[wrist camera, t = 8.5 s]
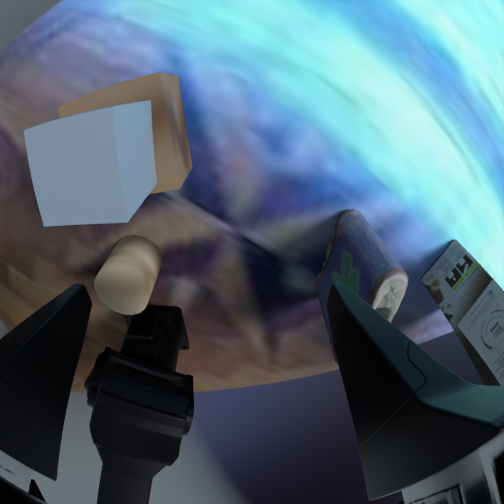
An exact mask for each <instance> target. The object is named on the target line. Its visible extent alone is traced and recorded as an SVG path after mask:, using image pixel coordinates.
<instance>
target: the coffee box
mask: <svg viewBox="0 0 504 504" xmlns="http://www.w3.org/2000/svg"><path fill="white" fill-rule="evenodd" d="M421 281H422V282H423V284H424V285H425V287H426V288H427V290H428V291H429V292H430V294H431V295H432V297H433V298H434V300H435V301H436V303H437V304H438V306H439V307H440V309H441V311H442V312H443V314H444V315H445V317H446V318H447V320H448V321H449V323H450V325H451V326H452V328H453V329H454V331H455V333H456V334H457V336H458V338H459V340H460V341H461V343H462V345H463V346H464V348H465V350H466V352H467V353H468V356H469V357H470V359H471V361H472V363H473V365H474V367H475V369H476V370H477V372H478V374H479V376H480V378H481V380H482V382H483V384H484V385H486V386H504V291H503V290H502V289H501V288H500V286H499V285H498V284H497V283H496V282H495V280H494V279H493V278H492V277H491V276H490V275H489V274H488V273H487V271H486V270H485V269H484V268H483V267H482V266H481V265H480V264H479V263H478V262H477V261H476V260H475V259H474V257H473V256H472V255H471V254H470V253H469V252H468V251H467V250H466V249H465V248H464V247H463V246H462V245H461V244H460V243H459V242H458V241H457V240H456V239H455V240H453V242H452V243H451V244H450V245H449V247H448V248H447V249H446V250H445V252H444V253H443V254H442V255H441V256H440V258H439V259H438V260H437V261H436V262H435V263H434V265H433V266H432V267H431V268H430V269H429V270H428V272H427V273H426V274H425V275H424V276H423V277H422V279H421Z"/></svg>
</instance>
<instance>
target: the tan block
mask: <svg viewBox="0 0 504 504" xmlns="http://www.w3.org/2000/svg"><path fill="white" fill-rule="evenodd" d="M147 100H151V113H152V131H153V146H154V158H155V169H156V179H157V185H156V186H155V187H154V188H153V190H152V191H151V192H150V193H149V194H152V193H158V192H165V191H171V190H177V189H180V188H181V186H182V184H183V182H184V181H185V179H186V177H187V176H188V174H189V172H190V171H191V169H192V161H191V155H190V149H189V143H188V137H187V130H186V124H185V117H184V110H183V103H182V96H181V89H180V82H179V76H177V75H172V74H167V73H161V72H159V73H155V74H151V75H147V76H143V77H140V78H136V79H133V80H129V81H126V82H123V83H119V84H116V85H113V86H110V87H107V88H104V89H102V90H99V91H96V92H93V93H91V94H88V95H86V96H83V97H80V98H78V99H76V100H73V101H71V102H68V103H66V104H64V105H62V106H59V107H58V112H59V118H63V117H66V116H70V115H74V114H77V113H82V112H86V111H90V110H95V109H100V108H105V107H110V106H115V105H121V104H127V103H133V102H140V101H147Z"/></svg>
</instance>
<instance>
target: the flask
mask: <svg viewBox="0 0 504 504" xmlns="http://www.w3.org/2000/svg"><path fill="white" fill-rule="evenodd" d="M334 229H335V233H334V236H333V239H332V241H331V242H330V243H329V246H328V247H327V251H326V253H327V254H326V255H327V260H326V262H325V263H322V264H323V269H322V271H321V272H320V273H319V275H318V278H317V279H316V282H315V283H314V287H315V290H316V292H317V295H318V298H319V301H320V305H321V309H322V313H323V317H324V320H325V324H326V327H327V331H328V334H329V339H330V343H331V346H332V351H333V356H334V358H335V362H336V363H337V364H338V361H337V358H336V354H335V350H334V346H333V342H332V336H331V329H330V323H329V317H328V311H327V300H328V296H329V291H330V287H331V285H332V284H344V285H345V286H347V287H348V288H349V289H350V290H352V291H353V292H354V293H355V294H356V295H358V296H359V297H360V298H361V299H363V300H364V301H365V302H366V303H368V304H369V305H370V306H371V307H372V308H374V309H375V310H376V311H377V312H378V313H380V314H381V315H382V316H383V317H384V318H386V319H387V320H388V321H389V322H390V323H391V321H392V319H393V317H394V315H395V314H396V312H397V310H398V308H399V305H400V303H401V301H402V299H403V297H404V294H405V291H406V288H407V286H408V276H407V274H406V273H405V272H404V270H403V268H402V267H401V266H400V265H399V263H398V262H397V261H396V259H395V258H394V257H393V255H392V254H391V252H390V251H389V250H388V248H387V247H386V245H385V244H384V243H383V241H382V240H381V238H380V237H378V235H377V234H376V233H375V231H374V230H373V229H372V227H371V226H370V225H369V223H368V222H367V221H366V219H365V218H364V216H363V215H362V214H361V213H360V212H358V211H356V210H345V211H344V213H343V214H342V215H341V216H340V218H339V219H338V221H337V223H336V224H335V227H334Z"/></svg>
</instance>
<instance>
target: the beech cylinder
mask: <svg viewBox="0 0 504 504" xmlns="http://www.w3.org/2000/svg"><path fill="white" fill-rule="evenodd" d="M161 265H162V257H161V253H160V251H159V249H158V248H157V246H156V245H155V244H154V243H153V242H151V241H150V240H149V239H147V238H145V237H142V236H138V235H129V236H126V237H124V238H122V239H121V240H120V241H119V242H118V243H117V245H116V246H115V248H114V249H113V251H112V252H111V254H110V255H109V257H108V259H107V260H106V262H105V263H104V265H103V266H102V268H101V270H100V271H99V273H98V275H97V276H96V278H95V281H94V288H95V292H96V294H97V296H98V298H99V299H100V300H101V302H102V303H103V304H104V305H106V306H107V307H108V308H110V309H111V310H113V311H115V312H117V313H121V314H125V315H134V314H138V313H140V312H142V311H143V310H144V309H145V308H146V306H147V304H148V301H149V298H150V295H151V292H152V290H153V287H154V284H155V281H156V279H157V276H158V273H159V271H160V268H161Z"/></svg>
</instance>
